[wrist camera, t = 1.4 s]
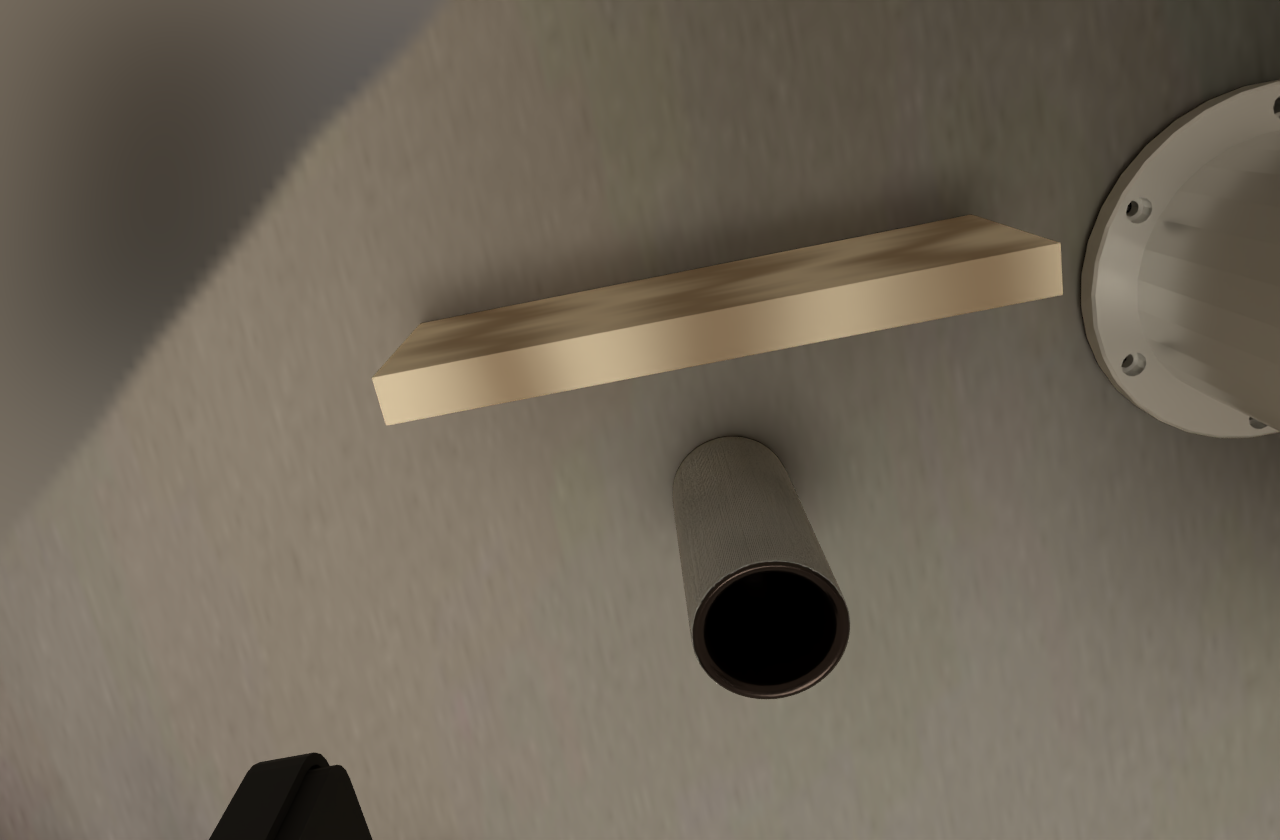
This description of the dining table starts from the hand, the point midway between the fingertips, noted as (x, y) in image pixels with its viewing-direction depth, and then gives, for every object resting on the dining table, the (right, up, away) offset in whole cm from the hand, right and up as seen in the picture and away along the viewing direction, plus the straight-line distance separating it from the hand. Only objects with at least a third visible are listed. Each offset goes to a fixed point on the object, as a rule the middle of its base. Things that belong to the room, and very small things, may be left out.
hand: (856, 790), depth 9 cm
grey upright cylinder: (+2, +1, +28) cm, 28 cm away
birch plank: (0, +8, +25) cm, 26 cm away
